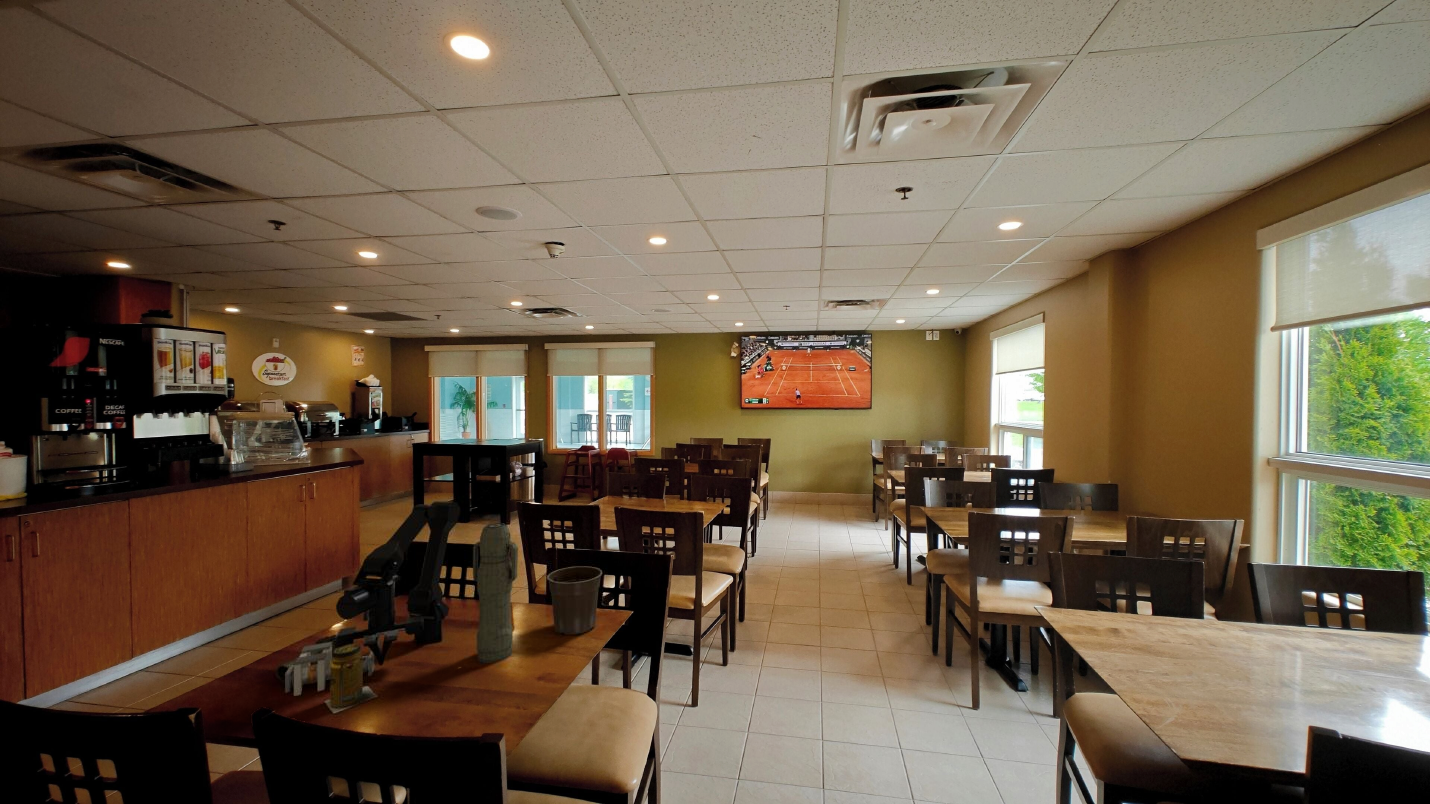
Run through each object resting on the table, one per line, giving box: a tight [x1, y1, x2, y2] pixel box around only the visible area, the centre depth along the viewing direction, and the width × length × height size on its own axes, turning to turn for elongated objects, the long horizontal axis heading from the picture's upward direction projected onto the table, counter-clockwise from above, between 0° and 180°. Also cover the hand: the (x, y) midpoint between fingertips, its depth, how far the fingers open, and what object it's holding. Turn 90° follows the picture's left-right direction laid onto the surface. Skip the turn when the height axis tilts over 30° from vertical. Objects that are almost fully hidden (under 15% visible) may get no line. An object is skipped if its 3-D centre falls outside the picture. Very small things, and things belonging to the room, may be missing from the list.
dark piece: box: [275, 634, 355, 683], centre depth 134 cm, size 18×7×6 cm, turn 167°
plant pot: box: [546, 565, 603, 636], centre depth 157 cm, size 16×16×16 cm
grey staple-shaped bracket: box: [293, 642, 333, 697], centre depth 124 cm, size 6×10×8 cm, turn 28°
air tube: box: [284, 650, 375, 694], centre depth 126 cm, size 17×4×4 cm, turn 117°
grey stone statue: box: [472, 522, 519, 664], centre depth 139 cm, size 9×12×35 cm
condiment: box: [324, 643, 378, 714], centre depth 118 cm, size 7×8×12 cm
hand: (381, 664), depth 131 cm, fingers closed
